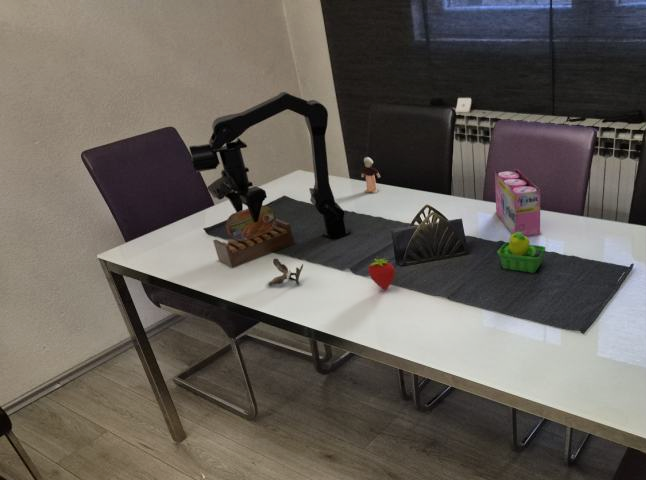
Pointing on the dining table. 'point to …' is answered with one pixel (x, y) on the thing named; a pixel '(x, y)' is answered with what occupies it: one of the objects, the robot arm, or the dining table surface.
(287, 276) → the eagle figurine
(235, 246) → the rack
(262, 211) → the tin
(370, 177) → the grandmother figurine
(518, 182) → the gum box
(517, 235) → the fruit basket
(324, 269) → the dining table surface
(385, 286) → the strawberry
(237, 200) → the robot arm
